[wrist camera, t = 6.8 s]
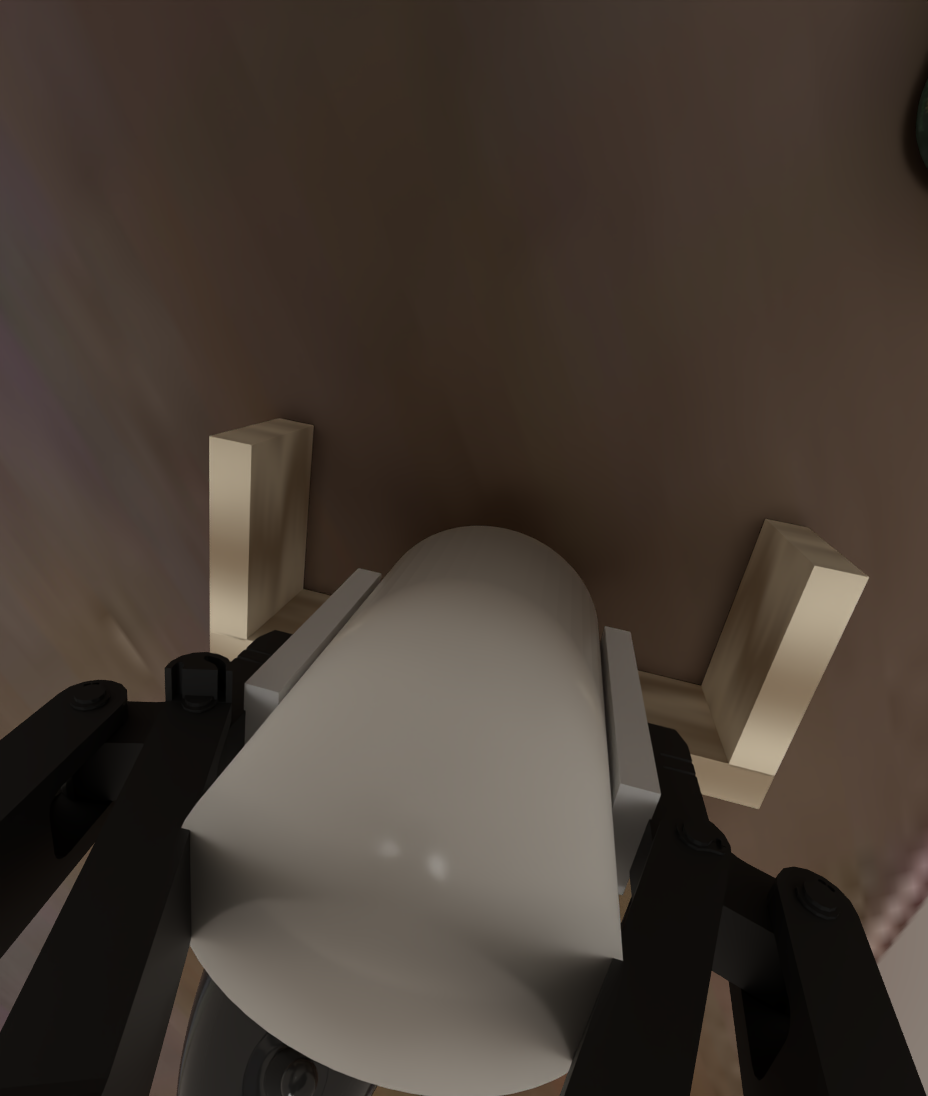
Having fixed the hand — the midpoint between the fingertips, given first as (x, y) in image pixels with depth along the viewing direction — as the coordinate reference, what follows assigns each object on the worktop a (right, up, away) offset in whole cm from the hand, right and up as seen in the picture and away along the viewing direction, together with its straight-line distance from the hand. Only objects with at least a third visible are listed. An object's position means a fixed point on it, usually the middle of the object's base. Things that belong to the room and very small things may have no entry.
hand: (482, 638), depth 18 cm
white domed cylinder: (0, 0, 0) cm, 0 cm away
